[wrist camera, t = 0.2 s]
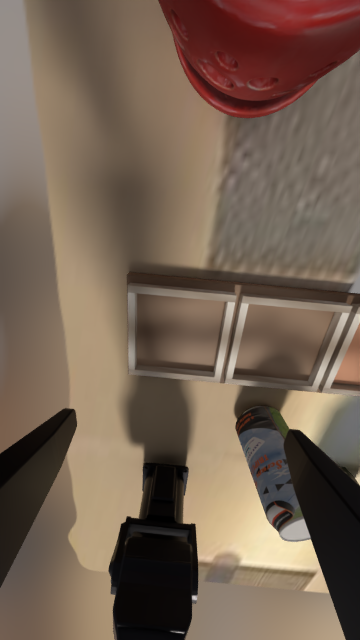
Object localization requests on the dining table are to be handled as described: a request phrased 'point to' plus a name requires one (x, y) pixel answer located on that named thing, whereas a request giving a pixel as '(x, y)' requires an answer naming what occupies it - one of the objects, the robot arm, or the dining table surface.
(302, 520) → the beverage can
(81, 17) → the dining table surface
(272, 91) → the plant pot
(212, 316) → the board
